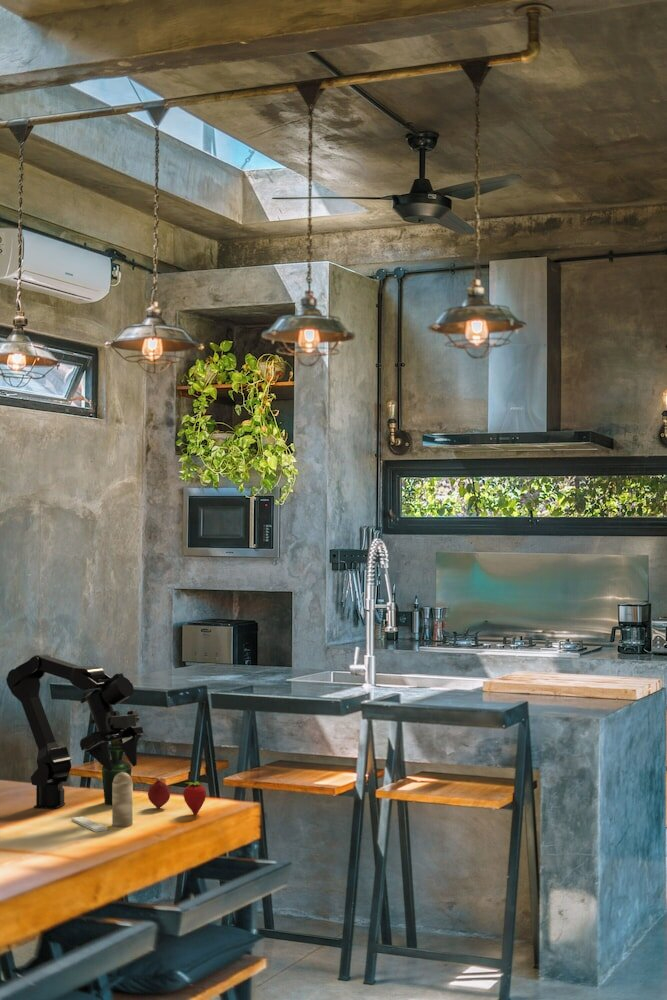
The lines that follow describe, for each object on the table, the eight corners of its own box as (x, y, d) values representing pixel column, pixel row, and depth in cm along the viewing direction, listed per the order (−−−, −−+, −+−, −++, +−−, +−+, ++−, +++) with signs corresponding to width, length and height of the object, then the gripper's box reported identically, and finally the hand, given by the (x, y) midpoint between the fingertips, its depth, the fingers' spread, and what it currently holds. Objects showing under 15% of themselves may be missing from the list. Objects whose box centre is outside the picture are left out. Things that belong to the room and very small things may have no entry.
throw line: (71, 820, 309) (71, 817, 309) (82, 818, 311) (82, 816, 311) (95, 831, 296) (95, 829, 296) (107, 830, 298) (107, 827, 298)
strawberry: (180, 817, 312) (180, 778, 312) (186, 811, 319) (186, 773, 320) (203, 817, 312) (203, 778, 312) (208, 811, 319) (208, 773, 320)
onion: (172, 806, 326) (172, 776, 327) (167, 810, 321) (167, 780, 321) (151, 805, 327) (151, 775, 327) (145, 810, 321) (145, 779, 322)
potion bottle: (105, 799, 336) (105, 734, 337) (134, 799, 335) (134, 734, 336) (98, 805, 328) (98, 738, 329) (128, 805, 327) (128, 738, 328)
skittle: (109, 826, 302) (109, 773, 302) (116, 822, 307) (116, 770, 307) (128, 827, 301) (128, 774, 301) (135, 823, 306) (135, 771, 306)
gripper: (98, 703, 307) (119, 761, 302) (147, 696, 322) (168, 751, 318) (69, 721, 312) (89, 778, 307) (119, 713, 327) (139, 767, 323)
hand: (123, 768), depth 314 cm, fingers open, 9 cm apart
